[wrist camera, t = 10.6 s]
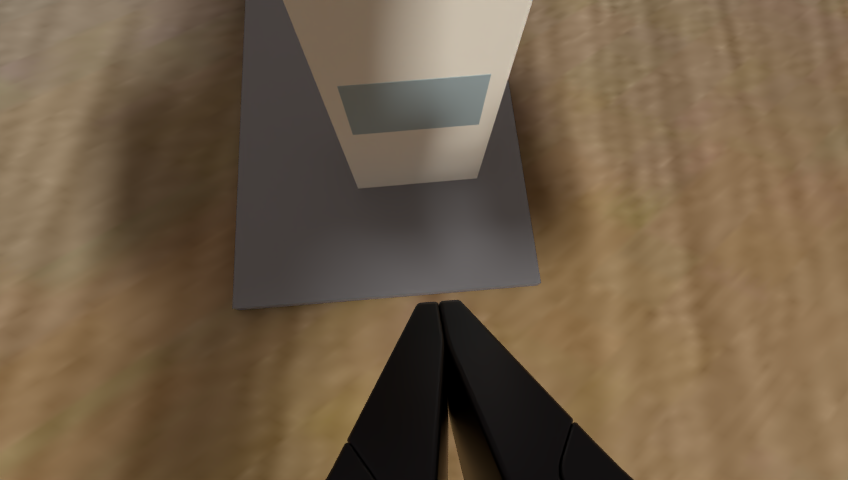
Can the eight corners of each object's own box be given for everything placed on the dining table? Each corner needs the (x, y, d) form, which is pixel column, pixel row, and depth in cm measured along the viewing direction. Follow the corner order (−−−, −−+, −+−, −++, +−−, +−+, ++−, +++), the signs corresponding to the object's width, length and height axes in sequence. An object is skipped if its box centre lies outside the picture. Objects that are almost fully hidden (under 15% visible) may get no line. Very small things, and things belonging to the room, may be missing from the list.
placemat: (536, 285, 16) (541, 283, 16) (239, 310, 16) (232, 308, 16) (478, -84, 22) (480, -96, 21) (253, -70, 21) (248, -82, 21)
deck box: (476, 178, 17) (540, -23, 8) (358, 189, 17) (280, -5, 8) (468, 119, 18) (517, -129, 9) (354, 128, 18) (281, -113, 8)
